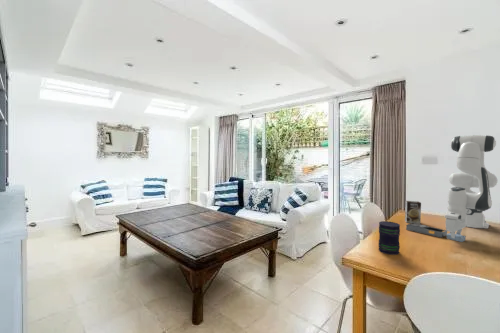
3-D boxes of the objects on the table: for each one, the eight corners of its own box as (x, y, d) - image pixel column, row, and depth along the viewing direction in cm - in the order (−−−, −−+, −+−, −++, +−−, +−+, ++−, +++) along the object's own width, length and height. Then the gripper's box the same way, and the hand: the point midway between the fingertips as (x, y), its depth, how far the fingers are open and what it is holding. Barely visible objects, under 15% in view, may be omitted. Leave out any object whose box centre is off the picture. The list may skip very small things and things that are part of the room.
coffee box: (406, 222, 186) (407, 201, 185) (404, 220, 192) (405, 200, 191) (420, 223, 182) (421, 202, 181) (418, 221, 188) (419, 201, 187)
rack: (412, 227, 173) (412, 222, 172) (447, 235, 155) (447, 229, 155) (406, 229, 168) (406, 224, 168) (441, 238, 151) (441, 231, 151)
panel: (450, 237, 153) (450, 232, 153) (465, 241, 146) (465, 235, 146) (446, 238, 150) (446, 233, 150) (461, 242, 144) (461, 237, 144)
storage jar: (399, 256, 124) (400, 227, 123) (377, 252, 129) (378, 224, 128) (399, 250, 132) (400, 222, 131) (379, 246, 137) (379, 220, 137)
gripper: (456, 211, 156) (456, 232, 156) (443, 215, 145) (442, 238, 145) (469, 213, 150) (468, 235, 151) (456, 217, 140) (455, 241, 140)
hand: (456, 236), depth 148 cm, fingers open, 7 cm apart
